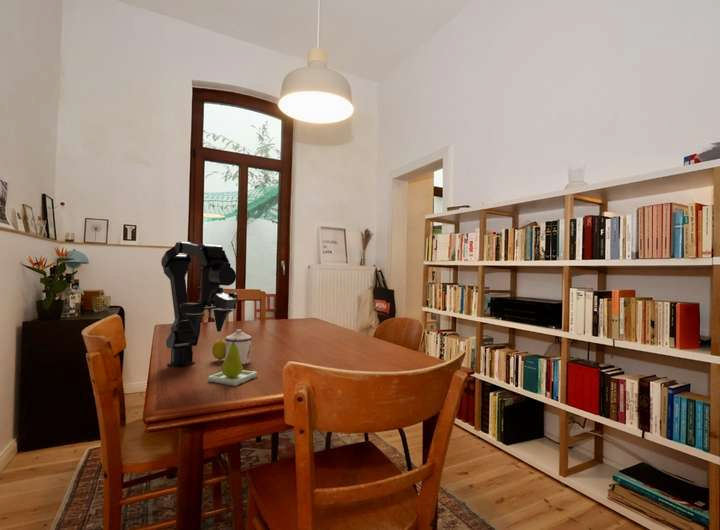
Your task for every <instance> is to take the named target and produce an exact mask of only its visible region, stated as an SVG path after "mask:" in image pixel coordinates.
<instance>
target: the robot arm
mask: <svg viewBox="0 0 720 530" xmlns="http://www.w3.org/2000/svg"><path fill="white" fill-rule="evenodd" d="M193 257H195V260H197V261H198V262H199V263H201V264H200V265H199V266H198V270H200V286H197V287H196V291H197V292H200V293H199V300H196V302H189V299H188V298H189V297H188V290H187V282H186V276H187V273H188V272H189V269H190V268H189V266H190V264H191V263H192V261H193ZM160 262H161V266H162V268H163V269H162V270H163V273H164V275H165V276H166V277H167V278H168V279H169V281H170V289H171V298H172V305H173V314H174V321H173V323H172V325H171V326H170V333H169V335H168V336H167V338H166V341H165V345H166V348H167V349H170V362H168V363H166V365H167V366H169V365H171V366H170V367H176V368H184V367H186V366H190V365H194V364H196V361H193V358H194V357H193V354H194V352H193V347H196V346H198V341H199V338H200V334H201V327H202V324H201V323H202V319H203V317H204V316H205V313H203V312H205V311H206V310H207V311H208V310H213V314H214V321H215V328H216V331H217V332H221V331H222V329H223V326H224V324H225V321H226V318H227V317H228V315H229V314H230V313H231V312H233V311H234V310H235V309H237V304H238V297H239V296H238V293H236V292H229V293H225V292H224V288H223V287H221V286H227V287H228V286H231V285H233V284H234V283H235V281H236V280H237V274H236V271H235V269H234V268H233V267H231V263H230V260H229V258H228V257H227V254H226V251H225V250H224V247H223V246H222V245H220V244H217V245H216V244H207V243H206V244H203V243H201V244H196V243H192V242H189V241H177V242H176V243H175V244H174V246H172V247H171V248H170V249H168V250H166V251H165V253H164V254H163V256H162V258H161V261H160Z"/></svg>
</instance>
